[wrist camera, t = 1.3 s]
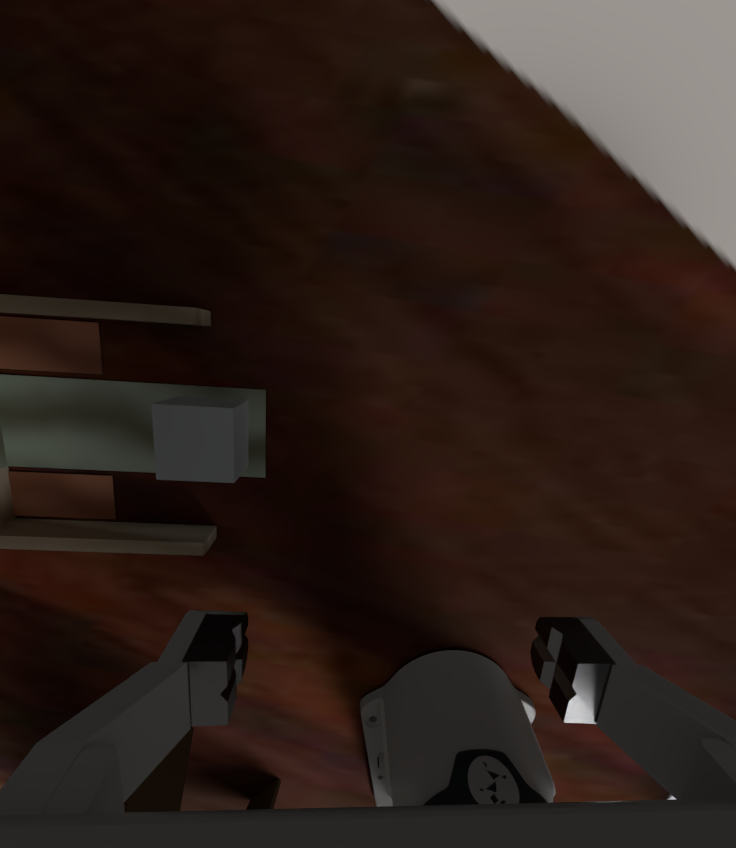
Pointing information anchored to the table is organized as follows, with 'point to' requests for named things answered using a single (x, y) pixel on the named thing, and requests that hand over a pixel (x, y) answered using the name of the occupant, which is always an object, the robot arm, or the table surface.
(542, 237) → the table surface
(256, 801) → the photo frame
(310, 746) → the table surface
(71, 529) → the grey-green e-shaped frame
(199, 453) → the block
